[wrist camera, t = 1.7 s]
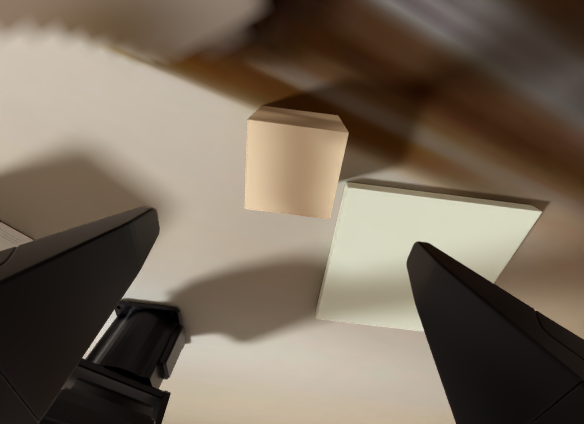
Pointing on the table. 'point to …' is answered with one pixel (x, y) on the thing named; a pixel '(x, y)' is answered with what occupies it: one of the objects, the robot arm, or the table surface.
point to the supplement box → (11, 237)
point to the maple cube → (293, 161)
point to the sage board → (398, 243)
